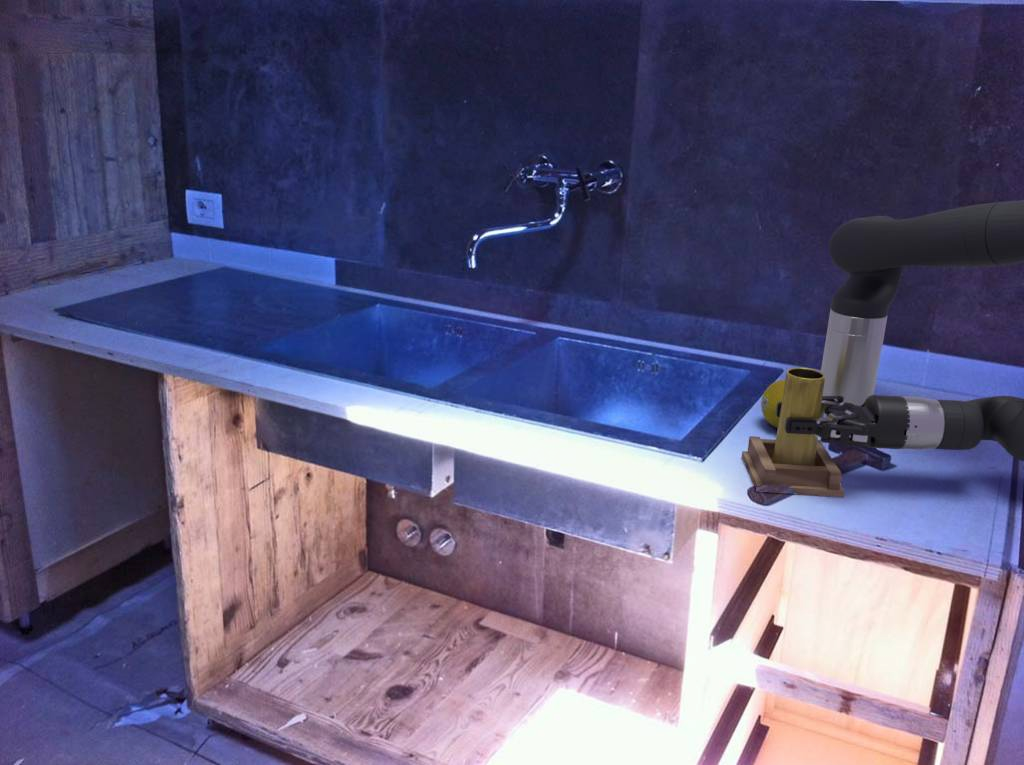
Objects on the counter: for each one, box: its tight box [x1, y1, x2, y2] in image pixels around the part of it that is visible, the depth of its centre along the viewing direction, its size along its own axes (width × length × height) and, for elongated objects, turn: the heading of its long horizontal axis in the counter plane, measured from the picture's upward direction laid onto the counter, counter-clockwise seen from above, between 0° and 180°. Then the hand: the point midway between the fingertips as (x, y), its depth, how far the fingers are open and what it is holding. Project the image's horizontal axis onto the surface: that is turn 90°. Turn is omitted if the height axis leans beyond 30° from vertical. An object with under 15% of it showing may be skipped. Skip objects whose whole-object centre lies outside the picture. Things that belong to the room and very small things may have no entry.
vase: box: [771, 366, 825, 466], centre depth 133 cm, size 6×6×14 cm
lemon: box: [760, 379, 785, 429], centre depth 153 cm, size 11×8×8 cm
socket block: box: [741, 435, 845, 498], centre depth 136 cm, size 12×12×4 cm
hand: (781, 417), depth 133 cm, fingers closed on vase, 5 cm apart
